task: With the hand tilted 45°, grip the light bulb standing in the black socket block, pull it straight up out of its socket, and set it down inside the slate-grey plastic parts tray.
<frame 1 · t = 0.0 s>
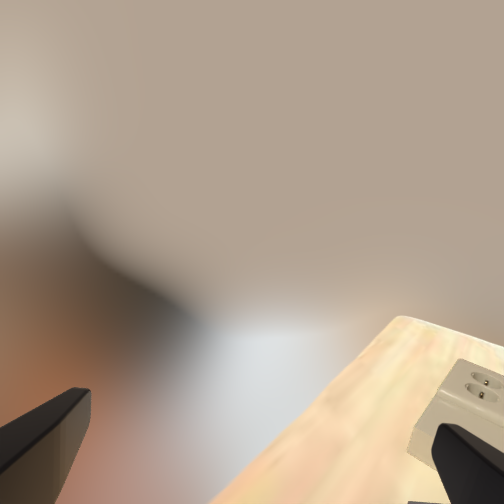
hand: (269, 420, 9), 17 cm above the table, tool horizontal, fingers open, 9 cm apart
electrical outlet: (467, 434, 35), on the table
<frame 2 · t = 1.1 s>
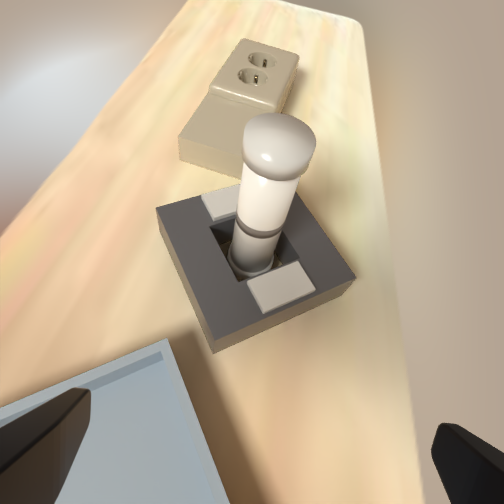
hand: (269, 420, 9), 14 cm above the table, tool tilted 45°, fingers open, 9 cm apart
light bulb: (260, 214, 22), in the socket block
electrical outlet: (243, 121, 37), on the table
socket block: (249, 262, 27), on the table
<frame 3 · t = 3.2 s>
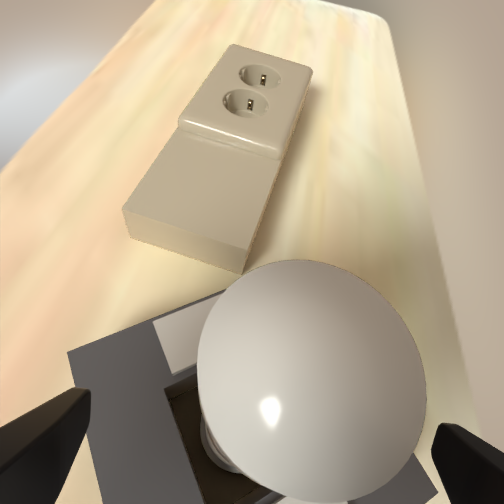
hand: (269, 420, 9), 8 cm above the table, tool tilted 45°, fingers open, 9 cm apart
light bulb: (257, 409, 10), in the socket block
electrical outlet: (232, 165, 26), on the table
socket block: (238, 426, 16), on the table
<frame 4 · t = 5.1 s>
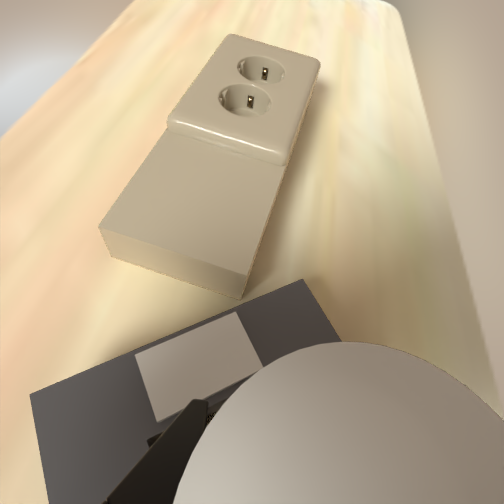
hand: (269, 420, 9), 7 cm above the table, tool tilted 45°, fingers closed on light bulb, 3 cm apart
light bulb: (264, 490, 8), in the socket block, touching gripper
electrical outlet: (230, 171, 23), on the table
socket block: (238, 475, 13), on the table
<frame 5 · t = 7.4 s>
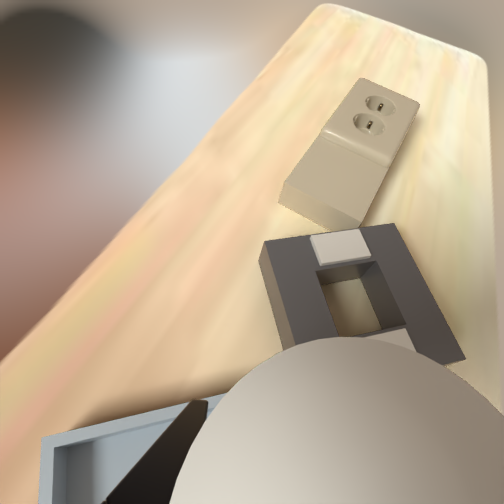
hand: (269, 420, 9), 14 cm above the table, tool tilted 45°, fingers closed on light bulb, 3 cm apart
light bulb: (264, 488, 8), point 14 cm above the table, touching gripper
electrical outlet: (346, 166, 35), on the table
socket block: (343, 311, 26), on the table
when the fingers open (9 cm above the table, at t = 9.7 s): light bulb drops 2 cm, resting on parts tray.
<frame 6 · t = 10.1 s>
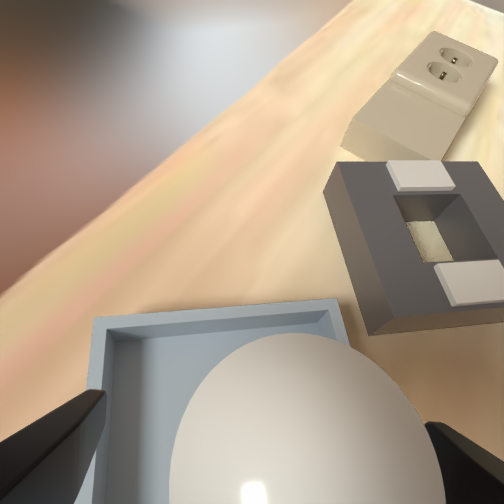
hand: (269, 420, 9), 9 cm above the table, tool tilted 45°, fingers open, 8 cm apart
parts tray: (234, 472, 15), on the table
light bulb: (253, 472, 10), in the parts tray
electrical outlet: (411, 122, 32), on the table
socket block: (416, 250, 23), on the table
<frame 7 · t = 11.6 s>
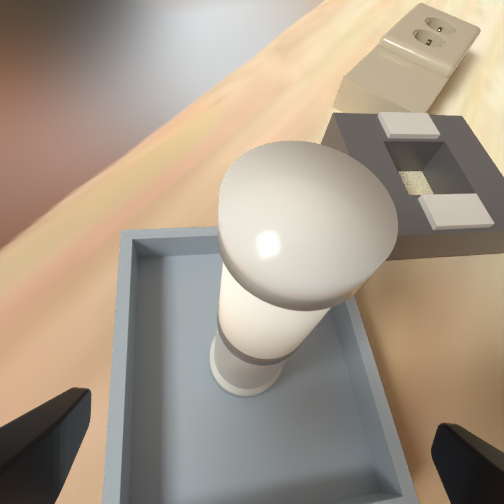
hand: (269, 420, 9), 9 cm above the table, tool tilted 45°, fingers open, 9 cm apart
parts tray: (242, 362, 18), on the table
light bulb: (262, 316, 12), in the parts tray
electrical outlet: (400, 87, 34), on the table
socket block: (405, 195, 26), on the table
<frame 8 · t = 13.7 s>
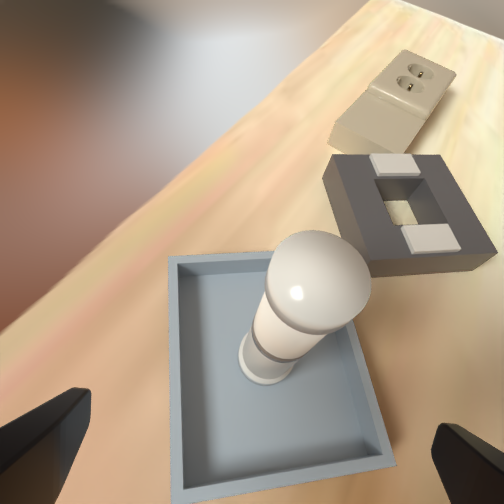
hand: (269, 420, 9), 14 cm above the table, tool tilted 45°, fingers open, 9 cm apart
parts tray: (262, 358, 23), on the table
light bulb: (283, 328, 17), in the parts tray
electrical outlet: (386, 124, 40), on the table
socket block: (392, 221, 31), on the table
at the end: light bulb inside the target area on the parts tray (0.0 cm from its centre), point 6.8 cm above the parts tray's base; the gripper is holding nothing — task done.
